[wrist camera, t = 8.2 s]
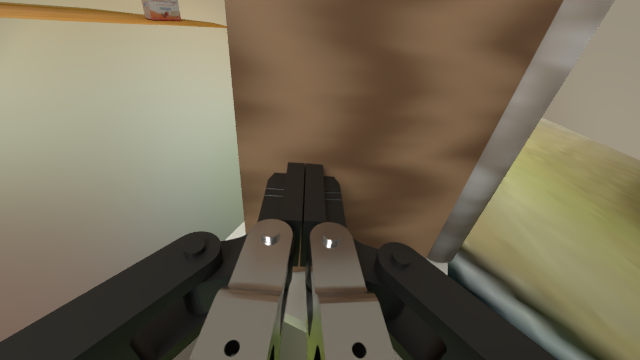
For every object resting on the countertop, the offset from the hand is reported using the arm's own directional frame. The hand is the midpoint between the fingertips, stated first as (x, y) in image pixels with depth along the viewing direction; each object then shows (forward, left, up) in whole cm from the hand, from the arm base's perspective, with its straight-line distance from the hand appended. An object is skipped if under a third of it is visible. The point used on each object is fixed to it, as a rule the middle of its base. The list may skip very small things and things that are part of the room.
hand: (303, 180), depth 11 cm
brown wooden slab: (-3, -3, -7) cm, 8 cm away
